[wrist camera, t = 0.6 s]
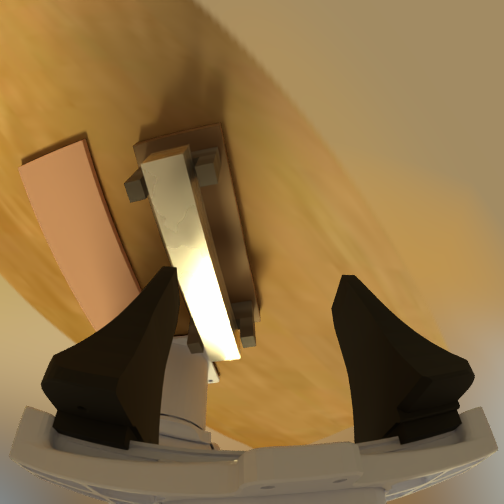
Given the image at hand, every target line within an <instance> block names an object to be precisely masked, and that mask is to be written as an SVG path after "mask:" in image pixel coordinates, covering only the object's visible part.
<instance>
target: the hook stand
mask: <svg viewBox="0 0 504 504" xmlns="http://www.w3.org/2000/svg"><path fill="white" fill-rule="evenodd" d="M188 144H190V149H191V153H192V157H193V161H194V165H195V169H196V174H197V178H198V182H199V186H200V190H201V194H202V198H203V202H204V206H205V210H206V214H207V218H208V222H209V225H210V229H211V233H212V237H213V241H214V245H215V248H216V252H217V256H218V260H219V263H220V267H221V271H222V274H223V278H224V282H225V285H226V289H227V293H228V296H229V300H230V303H231V307H232V310H233V314H234V317H235V321H236V324H237V328H238V329H240V338H241V342H242V345H243V348H246V347H253V346H256V337H255V323H254V322H260V321H261V320H260V311H259V306H258V301H257V296H256V292H255V287H254V282H253V277H252V272H251V268H250V263H249V258H248V253H247V248H246V244H245V239H244V234H243V229H242V224H241V219H240V215H239V210H238V205H237V200H236V195H235V190H234V185H233V180H232V176H231V171H230V166H229V161H228V156H227V151H226V146H225V141H224V136H223V131H222V126H221V123H216V124H211V125H206V126H201V127H197V128H192V129H188V130H184V131H179V132H175V133H171V134H167V135H163V136H159V137H156V138H152V139H148V140H145V141H141V142H138V143H136V144H135V145H134V146H133V149H134V152H135V156H136V159H137V163H138V166H139V169H138V170H137V171H136V172H135V173H134V174H133V175H132V176H131V177H130V178H129V179H128V180H127V181H126V182H125V183H124V185H125V188H126V191H127V194H128V197H129V200H130V203H131V202H135V201H139V200H143V199H146V198H147V196H148V199H149V202H150V206H151V209H152V212H153V215H154V218H155V221H156V224H157V227H158V230H159V233H160V236H161V239H162V242H163V245H164V248H165V250H166V253H167V256H168V259H169V262H170V264H171V267H173V264H172V261H171V258H170V255H169V253H168V250H167V247H166V244H165V241H164V238H163V235H162V232H161V229H160V226H159V223H158V220H157V217H156V214H155V211H154V208H153V204H152V201H151V198H150V195H149V192H148V188H147V185H146V182H145V178H144V175H143V171H142V168H141V165H140V164H141V163H142V162H143V161H144V160H145V159H146V158H147V157H148V156H149V155H150V154H152V153H155V152H159V151H163V150H167V149H171V148H175V147H180V146H184V145H188ZM178 286H179V289H180V291H181V294H182V297H183V299H184V302H185V304H186V307H187V310H188V312H189V315H190V317H191V318H190V325H189V331H188V338H187V346H188V348H189V350H190V352H191V354H195V353H203V350H204V344H203V342H202V340H201V337H200V335H199V332H198V330H197V327H196V325H195V322H194V320H193V317H192V315H191V312H190V310H189V307H188V304H187V302H186V299H185V297H184V294H183V291H182V289H181V286H180V283H179V280H178Z"/></svg>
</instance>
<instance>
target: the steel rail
mask: <svg viewBox="0 0 504 504" xmlns="http://www.w3.org/2000/svg"><path fill="white" fill-rule="evenodd" d="M140 165H141V168H142V171H143V175H144V178H145V182H146V185H147V188H148V192H149V195H150V198H151V201H152V204H153V208H154V211H155V214H156V217H157V220H158V223H159V226H160V229H161V232H162V235H163V238H164V241H165V244H166V247H167V250H168V253H169V255H170V258H171V261H172V264H173V267H177V275H178V280H179V283H180V286H181V289H182V291H183V294H184V297H185V299H186V302H187V304H188V307H189V310H190V312H191V315H192V317H193V320H194V322H195V325H196V327H197V330H198V332H199V335H200V337H201V340H202V342H203V344H204V347H205V349H206V352H207V354H208V356H209V359H210V361H211V362H215V361H224V360H233V359H241V358H240V335H239V331H238V328H237V324H236V321H235V317H234V314H233V310H232V307H231V303H230V300H229V296H228V293H227V289H226V285H225V282H224V278H223V274H222V271H221V267H220V263H219V260H218V256H217V252H216V248H215V245H214V241H213V237H212V233H211V229H210V225H209V222H208V218H207V214H206V210H205V206H204V202H203V198H202V194H201V190H200V186H199V182H198V178H197V174H196V169H195V165H194V161H193V157H192V153H191V149H190V144H188V145H184V146H180V147H175V148H171V149H167V150H163V151H159V152H155V153H152V154H150V155H149V156H148V157H147V158H146V159H145V160H144V161H143V162H142V163H141V164H140Z"/></svg>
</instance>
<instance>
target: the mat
mask: <svg viewBox="0 0 504 504" xmlns="http://www.w3.org/2000/svg"><path fill="white" fill-rule="evenodd" d="M18 170H19V173H20V176H21V179H22V182H23V184H24V187H25V190H26V192H27V195H28V198H29V200H30V203H31V205H32V208H33V210H34V213H35V215H36V218H37V220H38V222H39V225H40V227H41V229H42V232H43V234H44V236H45V238H46V240H47V243H48V245H49V247H50V249H51V251H52V253H53V255H54V257H55V259H56V261H57V263H58V265H59V267H60V269H61V271H62V273H63V275H64V277H65V279H66V281H67V283H68V285H69V286H70V288H71V290H72V292H73V294H74V296H75V297H76V299H77V301H78V303H79V304H80V306H81V308H82V310H83V311H84V313H85V315H86V316H87V318H88V320H89V321H90V323H91V325H92V326H93V328H94V329H95V331H96V332H97V331H98V330H100V329H101V328H103V327H104V326H105V325H107V324H108V323H109V322H111V321H112V320H113V319H114V318H115V317H117V316H118V315H119V314H120V313H121V312H122V311H123V310H124V309H125V308H126V307H127V306H128V305H129V304H130V303H131V302H132V301H133V300H134V299H135V298H136V297H137V296H138V295H139V294H140V293H141V292H142V290H141V288H140V286H139V284H138V281H137V279H136V277H135V274H134V272H133V270H132V267H131V265H130V263H129V260H128V258H127V256H126V253H125V251H124V248H123V246H122V243H121V241H120V238H119V236H118V233H117V231H116V228H115V225H114V223H113V220H112V217H111V215H110V212H109V209H108V207H107V204H106V201H105V198H104V195H103V192H102V189H101V187H100V184H99V181H98V178H97V174H96V171H95V168H94V165H93V162H92V159H91V155H90V152H89V149H88V145H87V142H86V139H83V140H81V141H78V142H75V143H73V144H70V145H68V146H65V147H63V148H60V149H58V150H56V151H53V152H51V153H48V154H46V155H44V156H42V157H39V158H37V159H35V160H33V161H30V162H28V163H26V164H24V165H22V166H20V167H18Z"/></svg>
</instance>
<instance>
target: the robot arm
mask: <svg viewBox="0 0 504 504" xmlns="http://www.w3.org/2000/svg"><path fill="white" fill-rule="evenodd" d="M179 305H180V299H179V288H178V275H177V267H165V266H163V267H162V268H161V269H160V270H159V271H158V273H157V274H156V275H155V276H154V277H153V279H152V280H151V281H150V282H149V283H148V285H147V286H146V287H145V288H144V289H143V290H142V292H141V293H140V294H139V295H138V296H137V297H136V298H135V299H134V300H133V301H132V302H131V303H130V304H129V305H128V306H127V307H126V308H125V309H124V310H123V311H122V312H121V313H120V314H119V315H118V316H117V317H115V318H114V319H113V320H112V321H111V322H109V323H108V324H107V325H105V326H104V327H103V328H101V329H100V330H98V331H97V332H96V333H94V334H93V335H91V336H90V337H88V338H86V339H85V340H83V341H81V342H80V343H78V344H76V345H74V346H72V347H70V348H68V349H66V350H64V351H62V352H60V353H58V354H55V355H54V356H53V358H52V359H51V361H50V363H49V365H48V368H47V370H46V372H45V375H44V377H43V380H42V382H41V387H42V390H43V391H44V393H45V395H46V396H47V397H48V399H49V400H50V401H51V402H52V404H53V405H54V406H55V408H56V409H57V413H56V416H55V417H54V416H53V415H51V414H49V413H47V412H44V411H41V410H38V409H35V408H32V407H29V406H26V407H25V410H24V412H23V415H22V418H21V420H20V423H19V426H18V429H17V432H16V435H15V438H14V441H13V444H12V448H11V451H10V454H9V457H10V459H11V460H13V461H14V462H15V463H17V464H19V465H20V466H21V467H23V468H24V469H26V470H27V471H28V472H30V473H31V474H33V475H35V476H36V477H38V478H39V479H42V480H44V481H47V482H49V483H52V484H54V485H57V486H60V487H63V488H65V489H68V490H71V491H74V492H77V493H80V494H83V495H85V496H89V497H92V498H95V499H98V500H101V501H105V502H108V504H387V503H386V502H387V501H390V500H393V499H397V498H400V497H403V496H406V495H409V494H412V493H414V492H417V491H420V490H423V489H425V488H428V487H431V486H433V485H435V484H438V483H440V482H443V481H445V480H448V479H450V478H453V477H455V476H457V475H460V474H462V473H464V472H466V471H468V470H470V469H471V468H473V467H474V466H476V465H477V464H479V463H480V462H482V461H483V460H485V459H486V458H488V457H489V456H490V455H492V454H493V453H495V452H496V451H497V450H498V447H497V444H496V441H495V439H494V436H493V434H492V431H491V428H490V426H489V423H488V421H487V418H486V416H485V414H484V411H483V409H482V407H477V408H474V409H471V410H468V411H465V412H463V413H461V414H460V415H459V414H458V412H457V409H459V407H460V405H459V402H458V399H459V398H460V397H461V396H462V395H463V394H464V393H465V392H466V391H467V390H468V389H469V387H470V386H471V385H472V383H473V381H474V378H475V377H474V376H475V375H474V373H473V371H472V369H471V367H470V365H469V363H468V361H467V360H466V359H464V358H461V357H459V356H457V355H454V354H452V353H450V352H448V351H446V350H444V349H442V348H440V347H439V346H437V345H435V344H433V343H432V342H430V341H429V340H427V339H426V338H424V337H422V336H421V335H419V334H418V333H417V332H415V331H414V330H413V329H411V328H410V327H409V326H407V325H406V324H405V323H404V322H402V321H401V320H400V319H399V318H398V317H397V316H396V315H394V314H393V313H392V312H391V311H390V310H389V309H388V308H387V307H386V306H385V305H384V304H383V303H382V302H381V301H380V300H379V299H378V298H377V297H376V296H375V295H374V294H373V293H372V292H371V291H370V290H369V289H368V288H367V287H366V286H365V285H364V284H363V283H362V282H361V281H360V280H359V279H358V278H357V277H356V276H355V275H342V277H341V280H340V283H339V287H338V290H337V293H336V296H335V299H334V302H333V305H332V308H331V309H332V315H333V322H334V327H335V331H336V335H337V338H338V341H339V345H340V348H341V351H342V355H343V358H344V361H345V365H346V368H347V373H348V377H349V384H350V390H351V398H352V407H353V419H354V439H355V440H354V441H355V444H354V443H351V442H333V443H324V444H314V445H298V446H277V447H263V448H256V449H252V450H249V451H227V450H225V451H224V450H220V448H219V446H218V445H217V444H216V443H211V433H210V432H206V431H205V424H206V404H207V386H208V383H217V382H219V376H218V373H217V371H216V369H215V366H214V364H213V362H211V361H210V359H209V356H208V354H207V352H206V349H205V347H204V350H203V353H195V354H191V352H190V350H189V348H188V346H187V338H188V335H186V336H177V337H174V333H175V329H176V325H177V320H178V313H179Z"/></svg>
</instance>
